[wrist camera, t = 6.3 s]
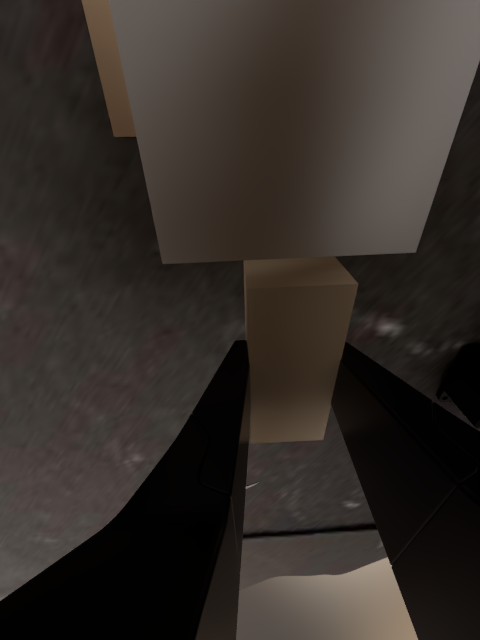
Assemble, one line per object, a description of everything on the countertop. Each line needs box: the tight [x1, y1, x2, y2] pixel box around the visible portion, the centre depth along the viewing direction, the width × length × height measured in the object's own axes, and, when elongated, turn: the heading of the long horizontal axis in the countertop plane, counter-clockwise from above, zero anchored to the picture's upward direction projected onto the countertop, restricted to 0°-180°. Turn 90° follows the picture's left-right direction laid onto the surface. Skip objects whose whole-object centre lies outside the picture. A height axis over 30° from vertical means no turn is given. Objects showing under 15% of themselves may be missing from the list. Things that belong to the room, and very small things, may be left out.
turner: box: [108, 0, 480, 443], centre depth 7 cm, size 7×11×2 cm, turn 2°
